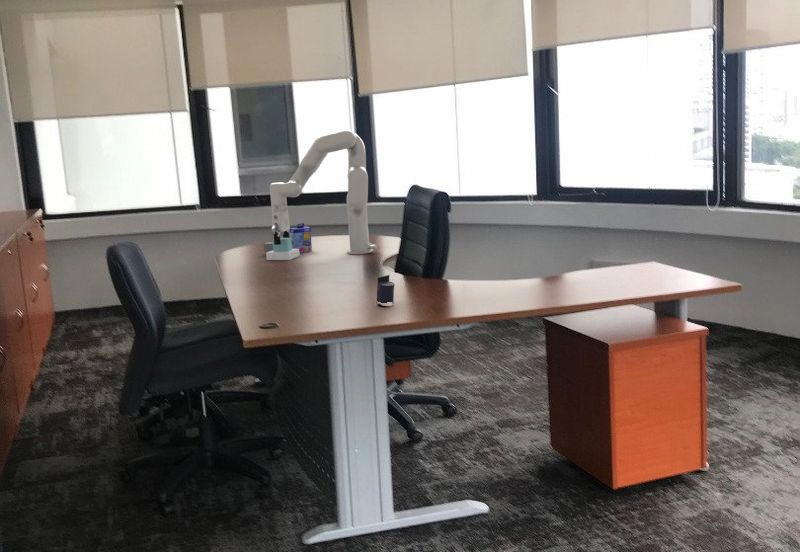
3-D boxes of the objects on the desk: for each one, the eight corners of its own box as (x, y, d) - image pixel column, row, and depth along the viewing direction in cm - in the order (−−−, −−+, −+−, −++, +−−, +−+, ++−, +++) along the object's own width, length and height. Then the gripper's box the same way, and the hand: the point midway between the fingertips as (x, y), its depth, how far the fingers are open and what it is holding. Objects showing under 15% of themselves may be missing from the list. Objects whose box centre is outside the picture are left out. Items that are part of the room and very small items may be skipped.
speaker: (372, 303, 327) (373, 275, 325) (387, 302, 330) (388, 274, 327) (380, 309, 321) (381, 281, 318) (395, 308, 323) (396, 279, 320)
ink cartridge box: (295, 253, 456) (292, 224, 454) (290, 252, 461) (288, 223, 459) (312, 250, 461) (310, 222, 459) (308, 249, 466) (306, 221, 463)
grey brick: (283, 253, 457) (282, 242, 456) (279, 255, 453) (278, 243, 452) (269, 253, 460) (268, 242, 459) (265, 255, 456) (264, 243, 455)
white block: (299, 255, 448) (299, 248, 447) (289, 260, 436) (288, 252, 436) (277, 255, 452) (277, 248, 451) (266, 259, 440) (266, 252, 440)
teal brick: (292, 250, 444) (291, 237, 443) (288, 251, 440) (287, 239, 439) (277, 250, 447) (276, 237, 446) (273, 251, 443) (272, 239, 442)
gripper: (278, 210, 430) (281, 245, 433) (294, 205, 446) (296, 240, 449) (264, 210, 433) (267, 245, 436) (280, 206, 449) (283, 240, 452)
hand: (282, 243), depth 443 cm, fingers open, 9 cm apart
